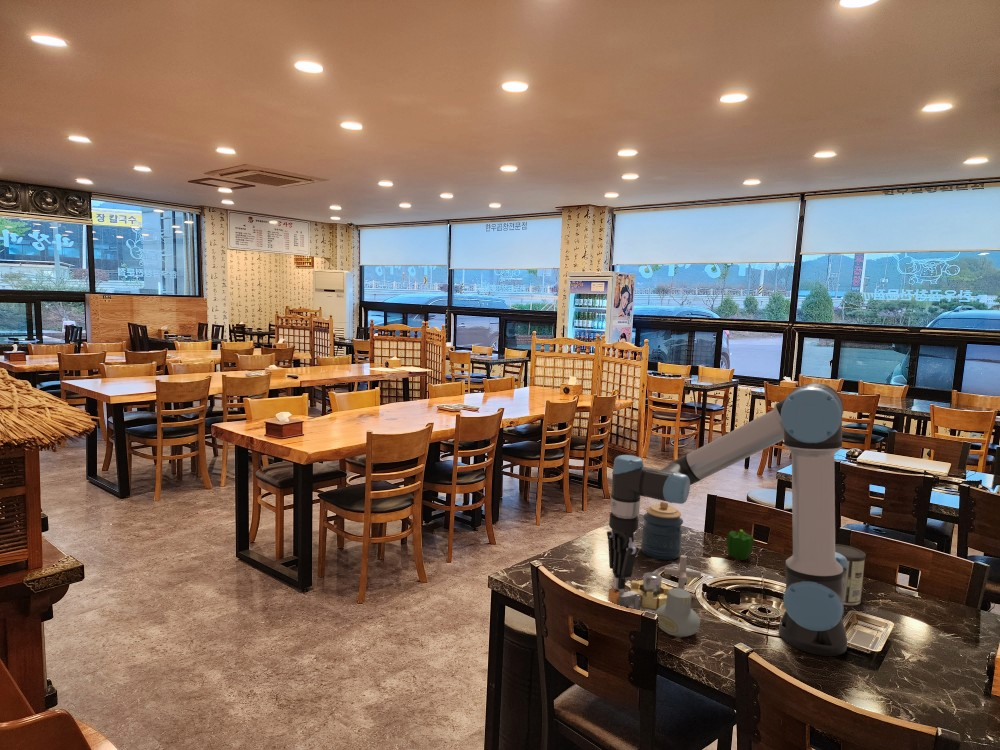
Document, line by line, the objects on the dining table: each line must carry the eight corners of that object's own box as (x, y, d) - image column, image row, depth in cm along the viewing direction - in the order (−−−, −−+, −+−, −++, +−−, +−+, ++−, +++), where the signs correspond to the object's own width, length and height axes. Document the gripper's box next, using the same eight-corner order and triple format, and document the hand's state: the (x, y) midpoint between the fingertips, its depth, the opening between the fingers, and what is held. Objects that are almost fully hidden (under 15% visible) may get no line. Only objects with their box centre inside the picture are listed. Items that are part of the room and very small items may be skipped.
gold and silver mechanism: (688, 609, 166) (690, 580, 165) (632, 628, 154) (635, 598, 153) (648, 588, 178) (650, 561, 177) (594, 605, 166) (596, 576, 165)
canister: (685, 561, 198) (689, 508, 196) (645, 559, 198) (649, 506, 197) (674, 546, 211) (678, 496, 209) (636, 544, 211) (640, 494, 210)
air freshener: (648, 625, 156) (651, 588, 155) (669, 617, 161) (672, 580, 160) (684, 645, 147) (687, 606, 146) (705, 636, 152) (708, 597, 151)
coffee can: (825, 586, 185) (830, 540, 183) (864, 598, 178) (869, 551, 176) (815, 596, 177) (820, 549, 176) (855, 609, 170) (860, 560, 169)
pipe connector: (701, 599, 172) (704, 565, 171) (664, 594, 174) (667, 560, 173) (697, 584, 182) (699, 551, 181) (662, 579, 184) (664, 547, 183)
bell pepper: (729, 550, 210) (731, 522, 209) (754, 556, 205) (757, 527, 204) (721, 557, 203) (724, 528, 202) (747, 564, 198) (750, 534, 197)
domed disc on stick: (653, 587, 175) (654, 572, 175) (680, 604, 165) (681, 589, 165) (596, 598, 166) (597, 582, 166) (621, 617, 157) (622, 600, 156)
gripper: (600, 506, 167) (594, 588, 170) (624, 523, 155) (617, 611, 158) (624, 505, 170) (618, 586, 172) (649, 521, 157) (642, 608, 160)
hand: (618, 598), depth 165 cm, fingers closed
